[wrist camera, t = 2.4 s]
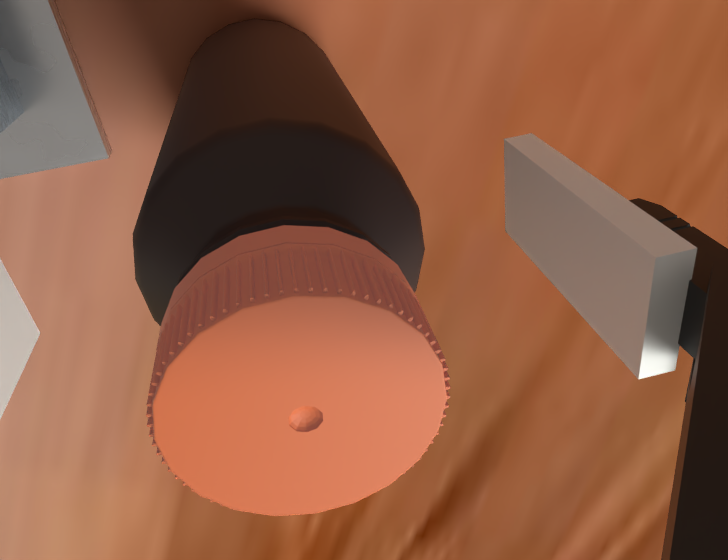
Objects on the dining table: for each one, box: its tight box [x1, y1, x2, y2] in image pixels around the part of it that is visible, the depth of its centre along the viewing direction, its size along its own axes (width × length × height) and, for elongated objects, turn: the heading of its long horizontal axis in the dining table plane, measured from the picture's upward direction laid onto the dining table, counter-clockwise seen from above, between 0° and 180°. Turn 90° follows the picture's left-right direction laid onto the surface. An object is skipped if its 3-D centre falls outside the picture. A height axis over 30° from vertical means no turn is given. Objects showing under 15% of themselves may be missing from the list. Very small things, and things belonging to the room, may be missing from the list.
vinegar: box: [133, 19, 451, 516], centre depth 18 cm, size 7×7×20 cm
